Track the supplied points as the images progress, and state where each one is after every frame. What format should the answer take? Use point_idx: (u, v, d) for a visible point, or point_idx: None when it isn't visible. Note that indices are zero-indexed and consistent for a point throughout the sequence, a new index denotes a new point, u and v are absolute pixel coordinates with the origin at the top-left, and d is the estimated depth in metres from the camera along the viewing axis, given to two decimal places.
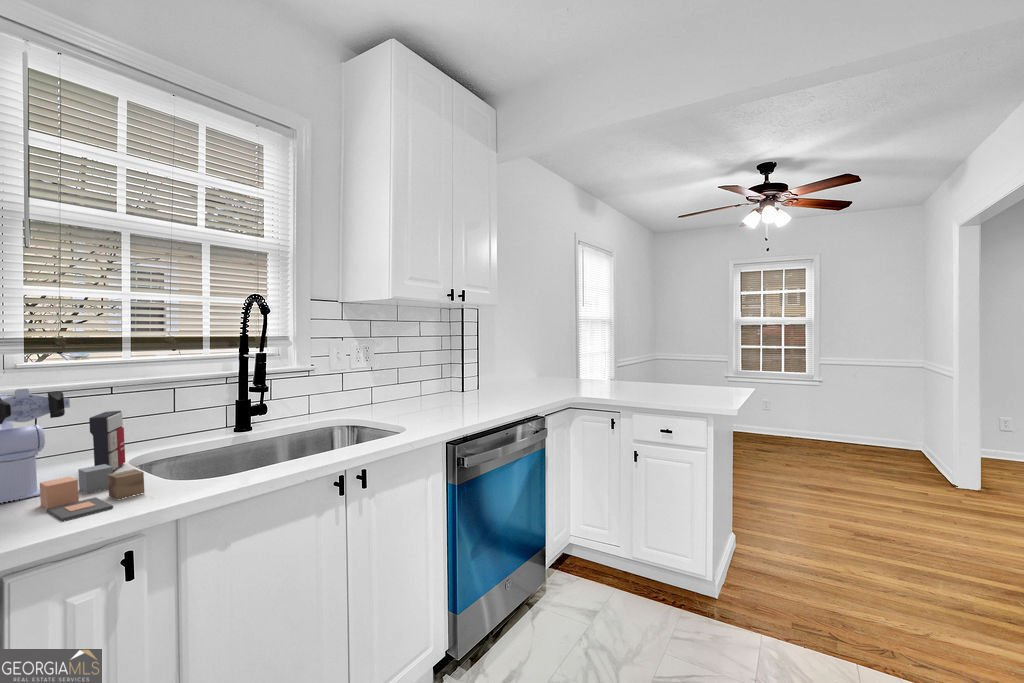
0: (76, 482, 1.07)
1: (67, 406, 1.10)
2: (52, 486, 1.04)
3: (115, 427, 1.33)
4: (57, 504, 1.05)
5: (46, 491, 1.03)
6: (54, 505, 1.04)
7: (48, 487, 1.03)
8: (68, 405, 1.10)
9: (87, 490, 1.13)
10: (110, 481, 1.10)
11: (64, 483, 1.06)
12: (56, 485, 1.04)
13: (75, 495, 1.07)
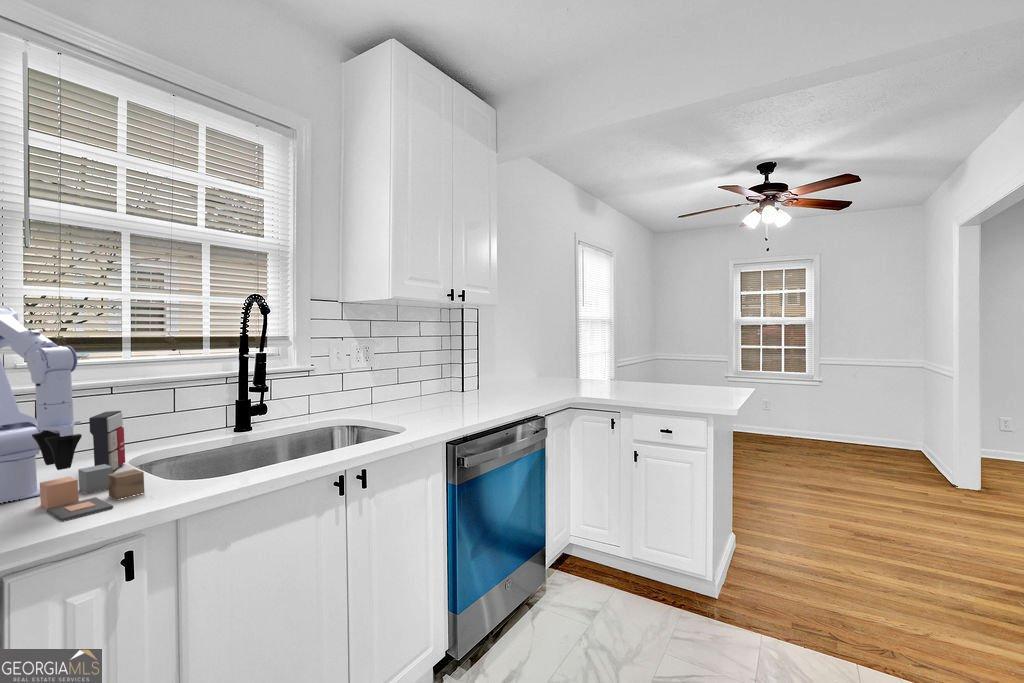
0: (76, 482, 1.07)
1: (42, 430, 1.10)
2: (52, 486, 1.04)
3: (115, 427, 1.33)
4: (57, 504, 1.05)
5: (46, 491, 1.03)
6: (54, 505, 1.04)
7: (48, 487, 1.03)
8: None
9: (87, 490, 1.13)
10: (110, 481, 1.10)
11: (64, 483, 1.05)
12: (56, 485, 1.04)
13: (75, 495, 1.07)
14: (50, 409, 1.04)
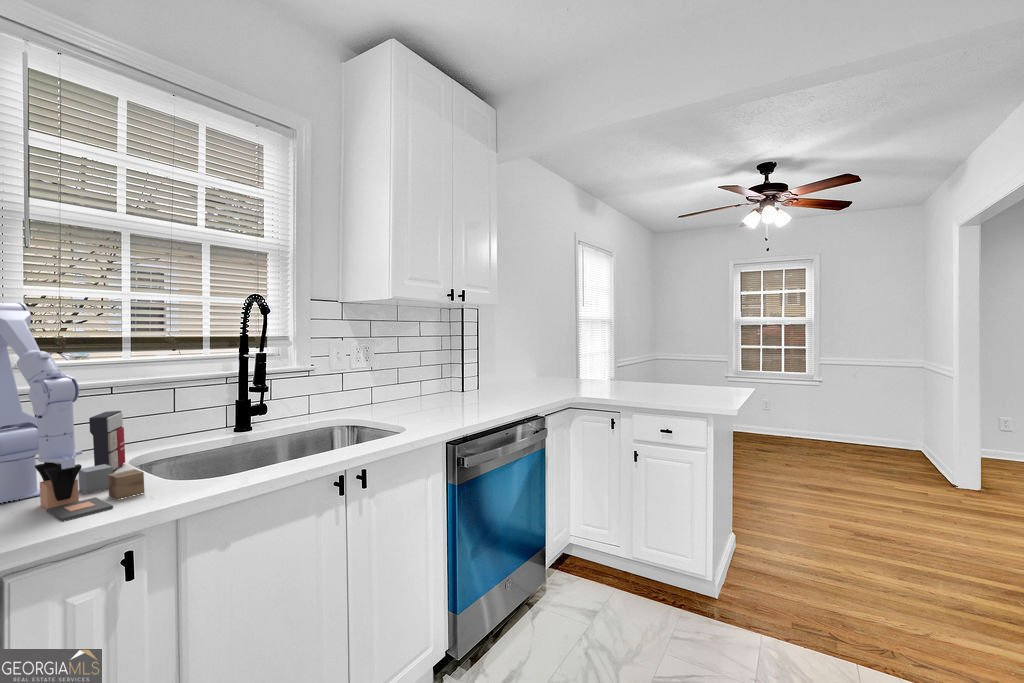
0: (76, 482, 1.07)
1: None
2: (52, 486, 1.04)
3: (115, 427, 1.33)
4: (57, 504, 1.05)
5: (46, 491, 1.03)
6: (54, 505, 1.04)
7: (48, 487, 1.03)
8: None
9: (87, 490, 1.13)
10: (110, 481, 1.10)
11: None
12: None
13: (75, 495, 1.07)
14: (52, 441, 1.04)
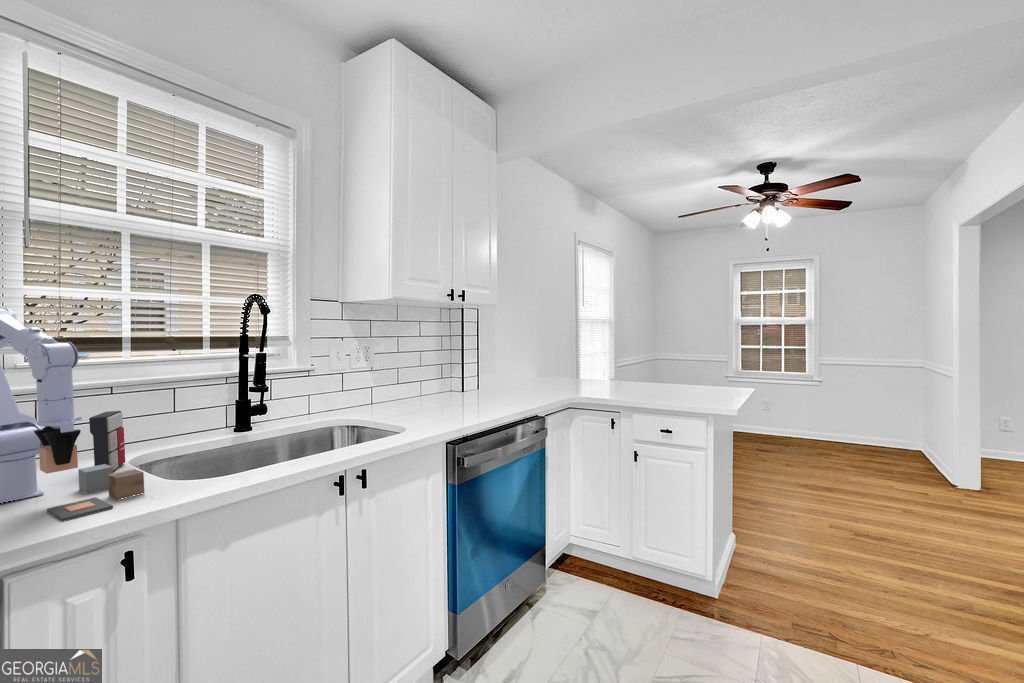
0: (75, 447, 1.07)
1: None
2: (51, 450, 1.04)
3: (115, 427, 1.33)
4: (56, 468, 1.05)
5: (45, 455, 1.04)
6: (53, 469, 1.04)
7: (47, 451, 1.03)
8: None
9: (87, 490, 1.13)
10: (110, 481, 1.10)
11: None
12: None
13: (74, 460, 1.07)
14: (51, 405, 1.04)
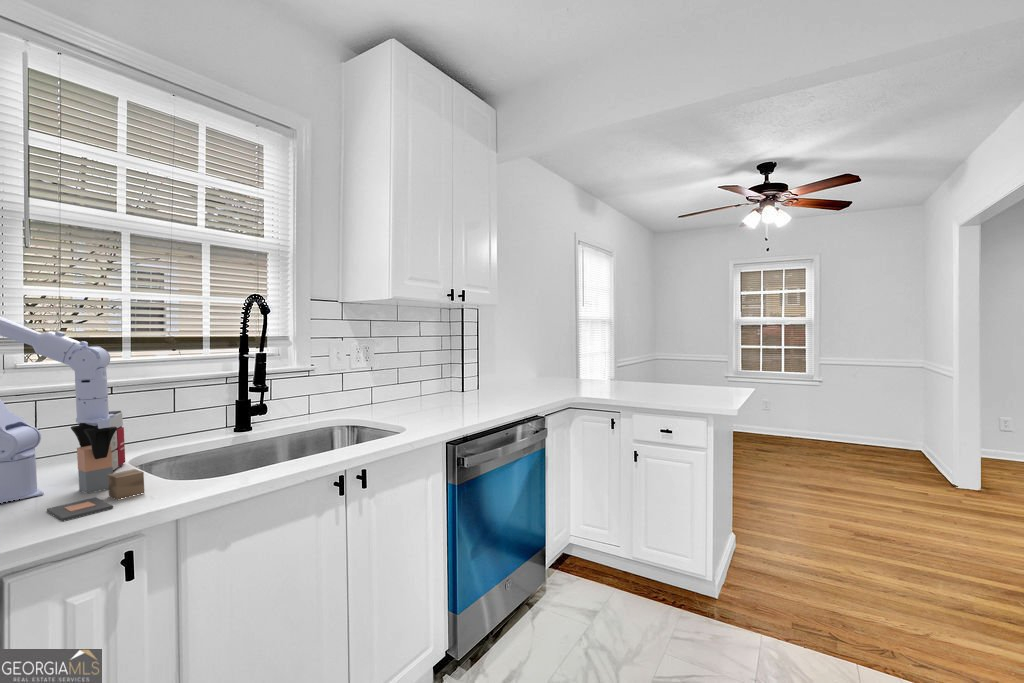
0: (110, 448, 1.17)
1: None
2: (89, 450, 1.14)
3: None
4: (93, 467, 1.14)
5: (83, 455, 1.13)
6: (90, 468, 1.14)
7: (85, 451, 1.13)
8: None
9: (87, 490, 1.13)
10: (110, 481, 1.10)
11: None
12: None
13: (109, 460, 1.17)
14: (89, 403, 1.14)
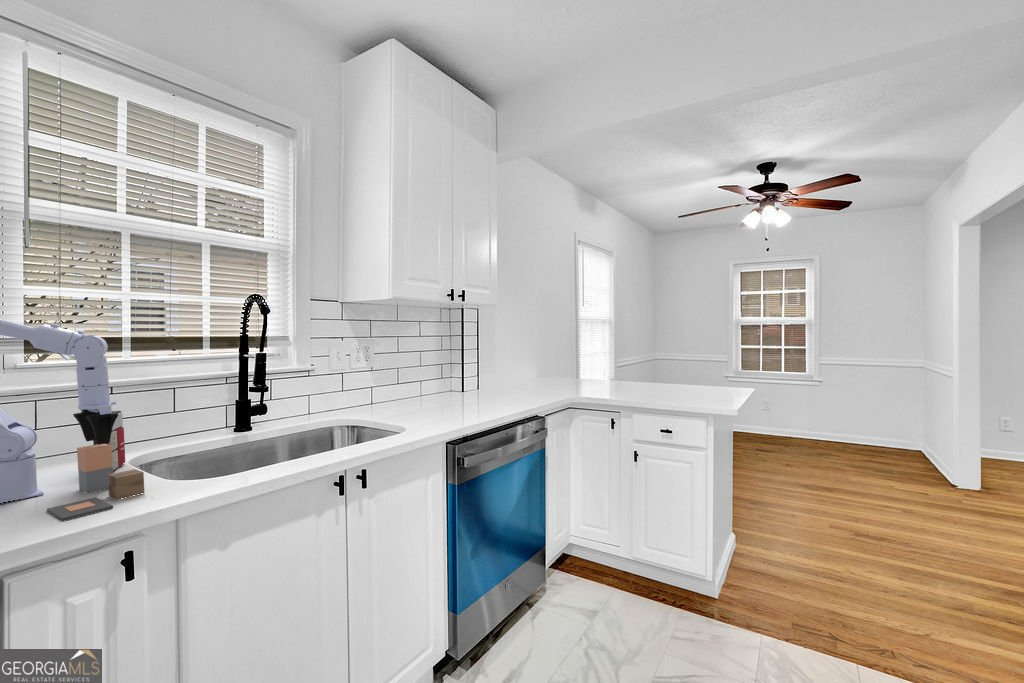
0: (110, 448, 1.17)
1: None
2: (89, 450, 1.14)
3: (115, 427, 1.33)
4: (93, 467, 1.14)
5: (84, 455, 1.13)
6: (91, 468, 1.14)
7: (85, 451, 1.13)
8: None
9: (87, 490, 1.13)
10: (110, 481, 1.10)
11: (99, 448, 1.15)
12: (92, 450, 1.14)
13: (109, 460, 1.17)
14: (90, 390, 1.16)
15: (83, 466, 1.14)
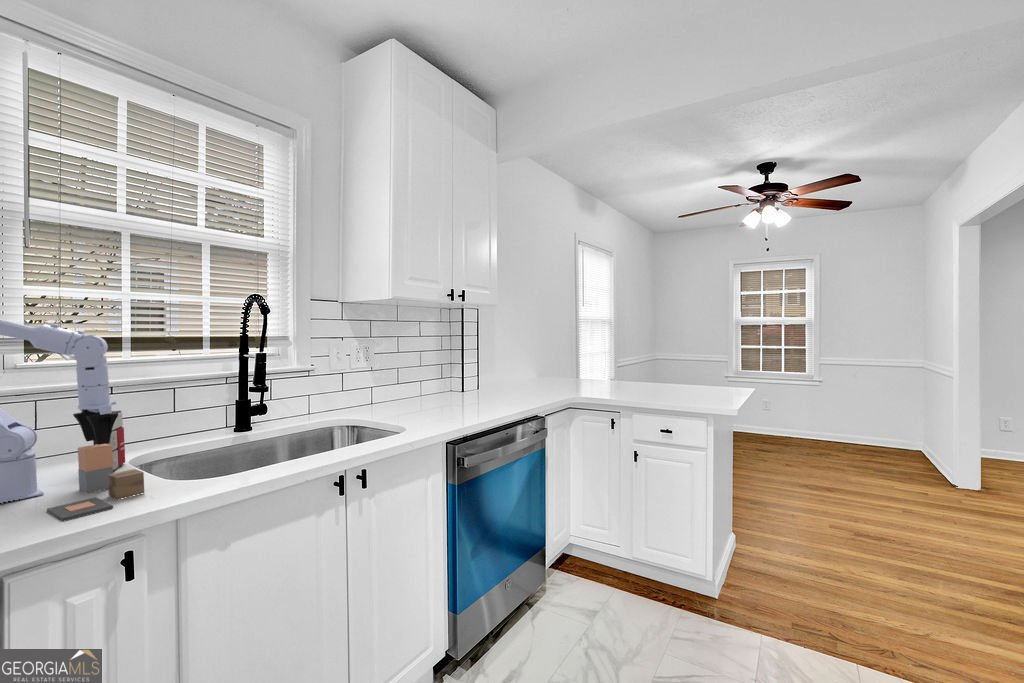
0: (111, 448, 1.17)
1: None
2: (90, 450, 1.14)
3: (115, 427, 1.33)
4: (94, 467, 1.15)
5: (84, 455, 1.14)
6: (91, 468, 1.14)
7: (86, 451, 1.13)
8: None
9: (87, 490, 1.13)
10: (110, 481, 1.10)
11: (100, 448, 1.16)
12: (93, 449, 1.14)
13: (110, 459, 1.17)
14: (90, 390, 1.16)
15: (84, 466, 1.14)
